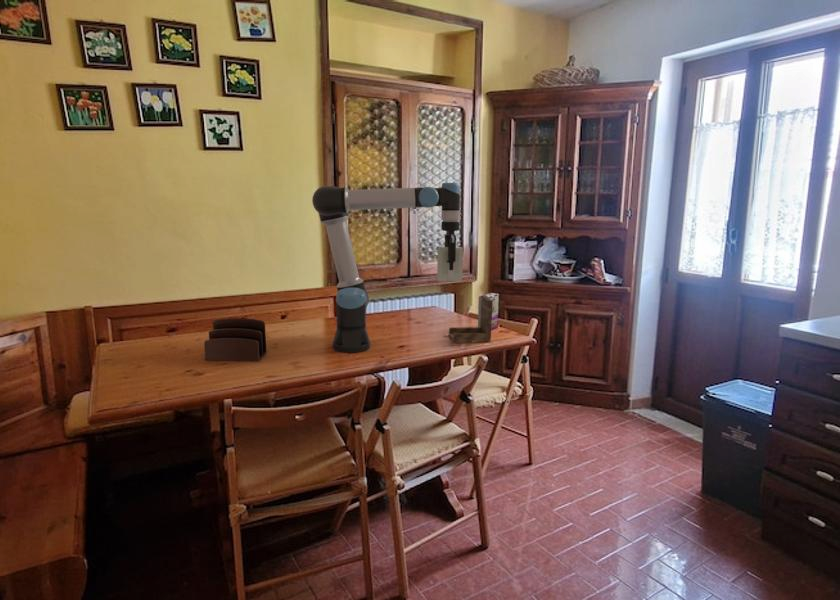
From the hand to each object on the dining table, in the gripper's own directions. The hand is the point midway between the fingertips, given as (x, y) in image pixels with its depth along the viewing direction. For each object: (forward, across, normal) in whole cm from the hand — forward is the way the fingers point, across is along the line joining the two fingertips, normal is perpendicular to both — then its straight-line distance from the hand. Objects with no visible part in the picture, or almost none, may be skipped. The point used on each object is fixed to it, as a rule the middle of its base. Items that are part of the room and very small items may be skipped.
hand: (449, 276), depth 214 cm
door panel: (+2, 0, 0) cm, 2 cm away
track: (+28, 0, -9) cm, 29 cm away
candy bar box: (+28, +15, -21) cm, 38 cm away
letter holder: (+26, -20, +84) cm, 91 cm away
